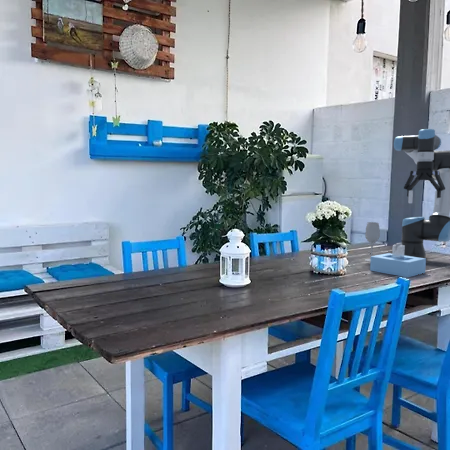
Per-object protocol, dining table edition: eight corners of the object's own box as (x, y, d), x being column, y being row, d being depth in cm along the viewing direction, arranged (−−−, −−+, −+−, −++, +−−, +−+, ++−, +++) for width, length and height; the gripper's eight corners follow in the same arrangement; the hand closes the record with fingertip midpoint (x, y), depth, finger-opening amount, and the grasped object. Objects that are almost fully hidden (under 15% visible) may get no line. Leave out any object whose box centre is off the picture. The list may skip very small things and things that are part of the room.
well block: (388, 266, 242) (388, 253, 242) (425, 272, 227) (426, 258, 226) (370, 270, 232) (370, 256, 231) (407, 277, 217) (408, 262, 216)
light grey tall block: (396, 268, 232) (397, 242, 231) (403, 269, 229) (404, 243, 228) (391, 269, 230) (392, 243, 229) (398, 270, 227) (400, 244, 225)
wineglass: (380, 261, 255) (382, 223, 253) (366, 261, 255) (367, 223, 253) (376, 259, 263) (377, 222, 260) (362, 259, 263) (364, 222, 261)
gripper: (398, 161, 239) (396, 202, 241) (446, 160, 220) (444, 205, 222) (405, 161, 244) (403, 202, 246) (454, 160, 225) (451, 204, 227)
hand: (423, 204), depth 234 cm, fingers open, 13 cm apart
